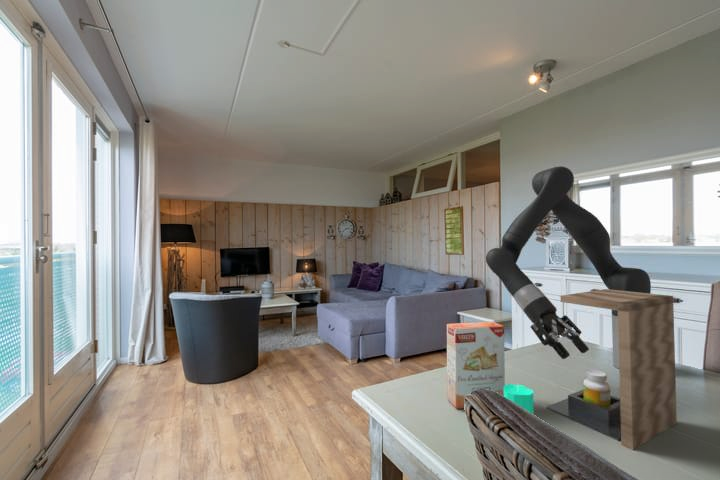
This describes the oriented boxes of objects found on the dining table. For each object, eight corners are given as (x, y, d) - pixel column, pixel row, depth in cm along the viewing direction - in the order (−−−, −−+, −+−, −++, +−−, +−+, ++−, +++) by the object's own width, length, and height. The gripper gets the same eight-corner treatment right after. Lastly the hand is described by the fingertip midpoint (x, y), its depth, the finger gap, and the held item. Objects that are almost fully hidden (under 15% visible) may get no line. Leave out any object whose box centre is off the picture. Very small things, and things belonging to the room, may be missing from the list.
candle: (538, 447, 69) (537, 389, 69) (508, 444, 70) (506, 387, 70) (530, 430, 75) (528, 377, 75) (501, 428, 76) (500, 376, 76)
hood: (608, 398, 89) (605, 289, 89) (676, 423, 76) (673, 295, 77) (563, 418, 80) (560, 295, 80) (632, 449, 67) (628, 304, 68)
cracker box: (456, 410, 84) (454, 328, 84) (446, 399, 90) (445, 323, 90) (507, 405, 87) (505, 325, 87) (493, 394, 92) (492, 320, 93)
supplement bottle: (578, 407, 84) (577, 369, 84) (597, 405, 84) (597, 367, 84) (595, 418, 78) (595, 377, 78) (616, 417, 79) (615, 376, 79)
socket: (582, 394, 92) (582, 379, 92) (654, 420, 78) (653, 404, 78) (546, 408, 85) (545, 392, 85) (618, 440, 70) (617, 422, 70)
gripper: (526, 298, 90) (570, 351, 80) (557, 293, 97) (602, 342, 86) (509, 314, 95) (549, 366, 85) (541, 308, 101) (581, 356, 91)
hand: (576, 354), depth 86 cm, fingers open, 8 cm apart
